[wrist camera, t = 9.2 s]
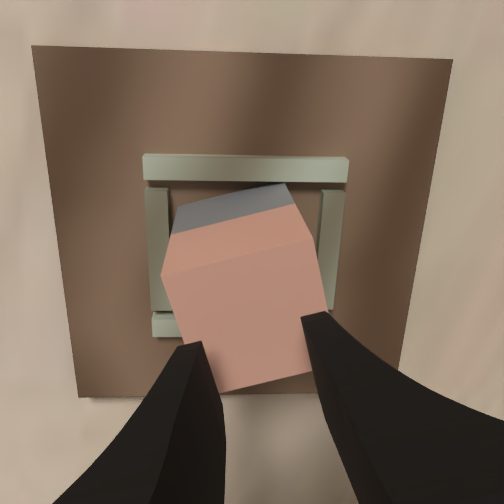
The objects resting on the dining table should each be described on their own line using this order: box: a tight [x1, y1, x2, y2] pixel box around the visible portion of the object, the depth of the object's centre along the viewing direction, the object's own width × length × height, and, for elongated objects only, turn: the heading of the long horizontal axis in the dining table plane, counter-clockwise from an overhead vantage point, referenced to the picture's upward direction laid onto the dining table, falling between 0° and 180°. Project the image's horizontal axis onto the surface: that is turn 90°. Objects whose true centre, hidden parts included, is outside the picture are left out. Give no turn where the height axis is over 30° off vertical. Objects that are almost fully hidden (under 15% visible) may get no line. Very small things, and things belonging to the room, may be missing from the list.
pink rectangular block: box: [161, 182, 328, 393], centre depth 16 cm, size 4×4×6 cm
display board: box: [31, 45, 453, 398], centre depth 19 cm, size 14×14×2 cm
